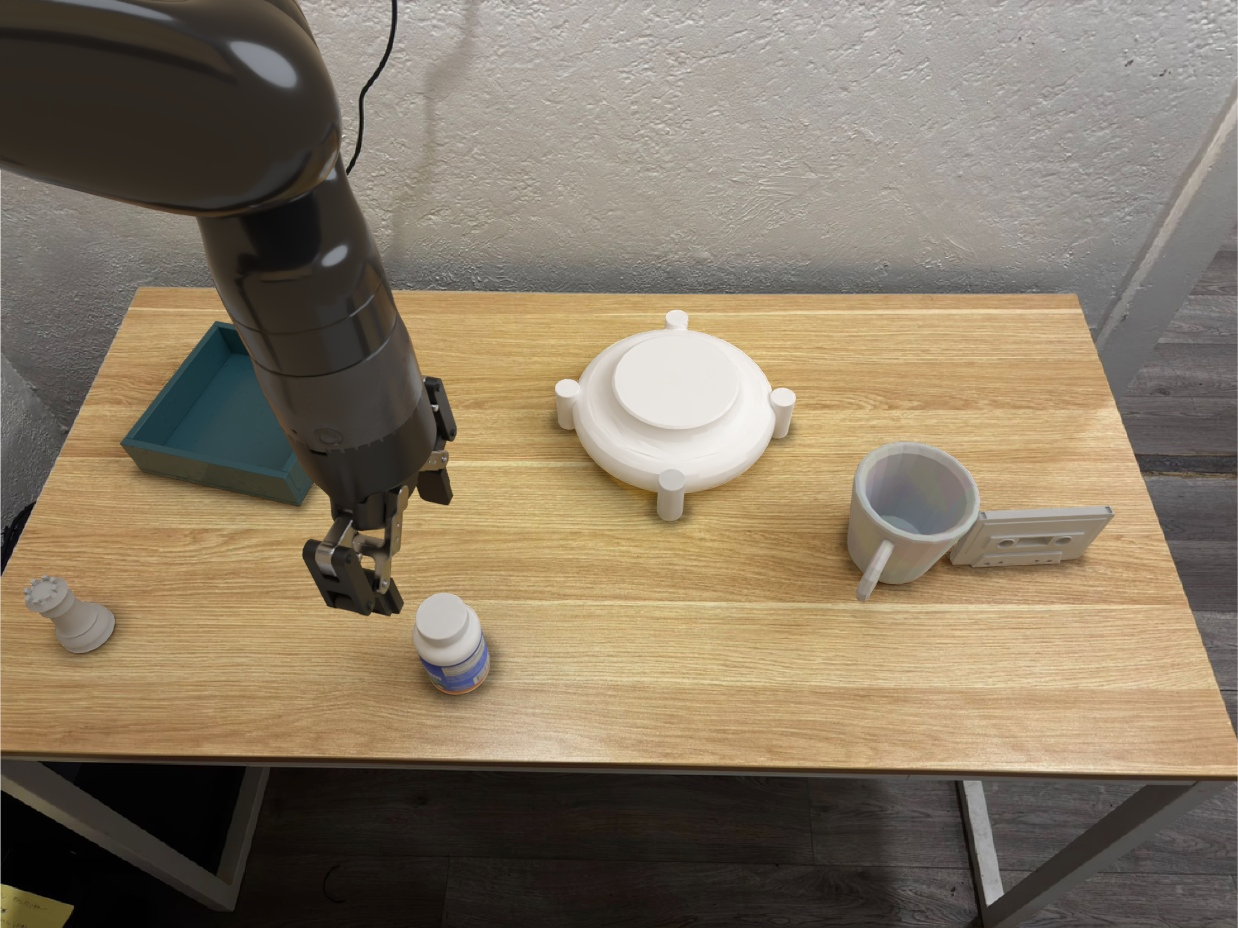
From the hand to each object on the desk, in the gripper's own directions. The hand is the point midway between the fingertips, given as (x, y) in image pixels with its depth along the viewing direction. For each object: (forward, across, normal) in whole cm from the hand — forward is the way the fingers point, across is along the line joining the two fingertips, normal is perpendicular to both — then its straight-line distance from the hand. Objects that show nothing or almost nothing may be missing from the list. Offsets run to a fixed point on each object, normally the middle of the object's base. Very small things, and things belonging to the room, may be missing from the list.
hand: (413, 551), depth 56 cm
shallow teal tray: (+20, -21, -30) cm, 42 cm away
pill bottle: (+20, 0, 0) cm, 20 cm away
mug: (+20, -19, +34) cm, 43 cm away
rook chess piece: (+20, +5, -33) cm, 39 cm away
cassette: (+20, -23, +46) cm, 55 cm away
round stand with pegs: (+20, -31, +12) cm, 38 cm away
